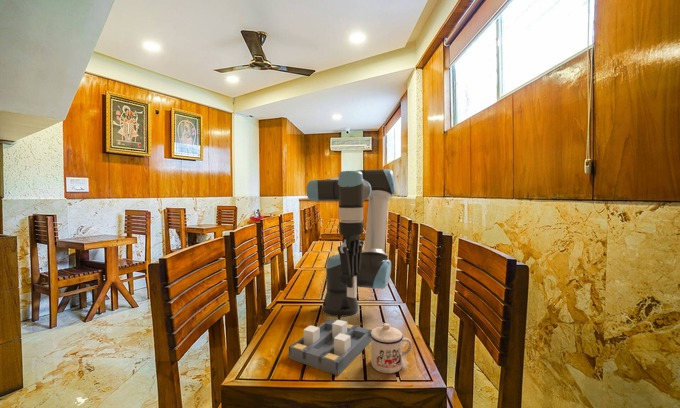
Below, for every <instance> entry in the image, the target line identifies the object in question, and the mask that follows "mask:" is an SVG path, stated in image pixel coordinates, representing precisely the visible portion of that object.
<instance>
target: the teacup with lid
mask: <svg viewBox="0 0 680 408" xmlns="http://www.w3.org/2000/svg"><path fill="white" fill-rule="evenodd" d="M371 330H372V331H371V334H370V336H371V342H370V343H371V344H370V345H371V346H370V347H371V349H370V356H371V357H370V359H371V361H370V364H371V367H373V369H374V370H376V371H378V372H379V373H383V374H394V373H398V372H400V370H401V369H402V366H403V357H406V356H408V355H409V354H410V353H411V352H412V349H413V343H412V340H411V339H410V338H407V337H404V336H403V333H402V332H401V330H399V329H398V328H396V327H393V326H391V324H390V323H387V322H384V323H383V324H382V325H381V326H377V327H375V328H372V329H371ZM403 342H407V343H408V348H407V350H405V351H403Z"/></svg>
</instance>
